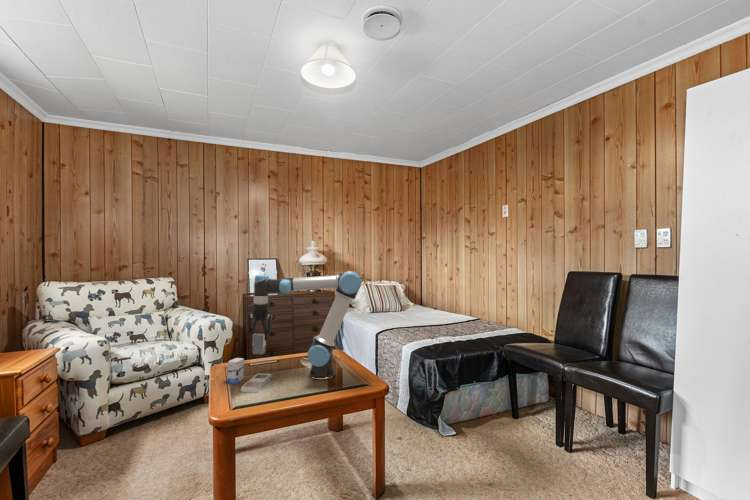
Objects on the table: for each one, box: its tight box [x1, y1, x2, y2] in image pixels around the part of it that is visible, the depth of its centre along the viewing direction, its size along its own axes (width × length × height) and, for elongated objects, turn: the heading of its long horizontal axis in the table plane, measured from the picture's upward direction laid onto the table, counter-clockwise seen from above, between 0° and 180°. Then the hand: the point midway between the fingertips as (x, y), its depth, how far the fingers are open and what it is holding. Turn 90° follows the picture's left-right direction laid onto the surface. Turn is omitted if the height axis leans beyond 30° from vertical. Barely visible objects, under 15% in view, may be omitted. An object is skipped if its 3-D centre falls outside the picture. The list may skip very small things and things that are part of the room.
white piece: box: [240, 373, 272, 393], centre depth 194 cm, size 8×22×3 cm, turn 177°
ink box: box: [226, 357, 245, 385], centre depth 200 cm, size 8×5×12 cm, turn 168°
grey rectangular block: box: [252, 333, 266, 355], centre depth 198 cm, size 5×5×10 cm
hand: (259, 346), depth 198 cm, fingers closed on grey rectangular block, 5 cm apart
